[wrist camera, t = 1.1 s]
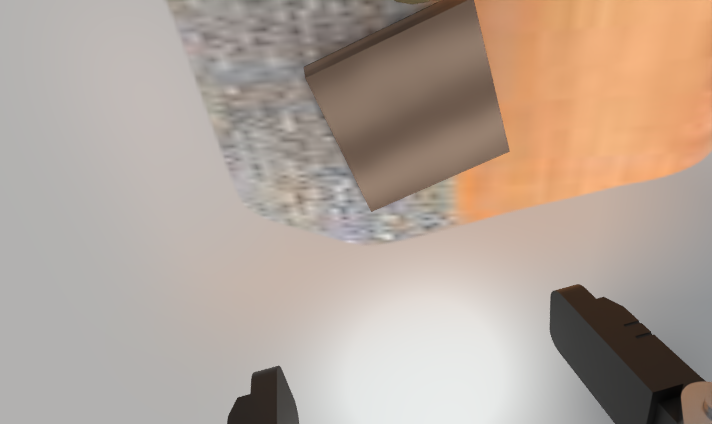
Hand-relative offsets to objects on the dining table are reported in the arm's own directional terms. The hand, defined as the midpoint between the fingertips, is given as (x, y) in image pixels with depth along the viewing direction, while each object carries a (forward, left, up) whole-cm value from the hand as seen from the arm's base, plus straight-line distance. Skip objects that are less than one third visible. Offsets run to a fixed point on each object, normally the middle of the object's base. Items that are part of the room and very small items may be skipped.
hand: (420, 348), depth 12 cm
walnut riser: (+3, +5, -24) cm, 25 cm away
